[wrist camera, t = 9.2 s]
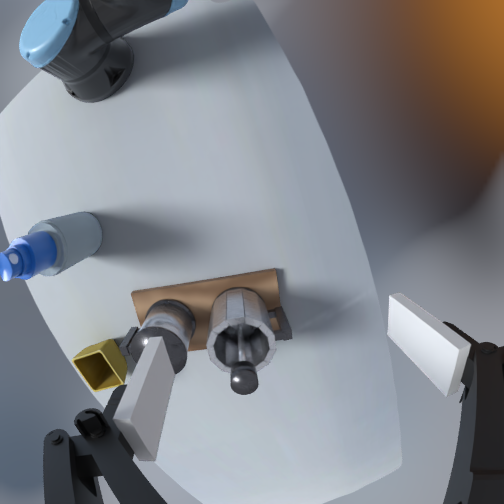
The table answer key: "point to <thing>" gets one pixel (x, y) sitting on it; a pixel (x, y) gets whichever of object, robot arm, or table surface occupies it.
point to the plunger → (242, 362)
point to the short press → (163, 332)
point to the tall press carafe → (250, 312)
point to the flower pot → (102, 365)
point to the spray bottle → (51, 246)
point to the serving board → (209, 298)
